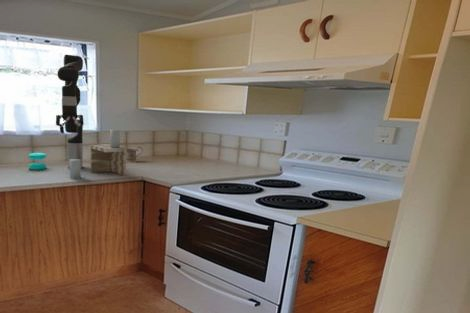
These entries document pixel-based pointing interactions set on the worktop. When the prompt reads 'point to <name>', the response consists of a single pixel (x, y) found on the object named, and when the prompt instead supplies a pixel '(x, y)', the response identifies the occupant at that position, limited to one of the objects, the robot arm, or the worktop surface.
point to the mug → (131, 155)
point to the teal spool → (37, 157)
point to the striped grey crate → (108, 159)
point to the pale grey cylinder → (115, 138)
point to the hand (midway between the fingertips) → (70, 132)
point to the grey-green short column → (75, 168)
